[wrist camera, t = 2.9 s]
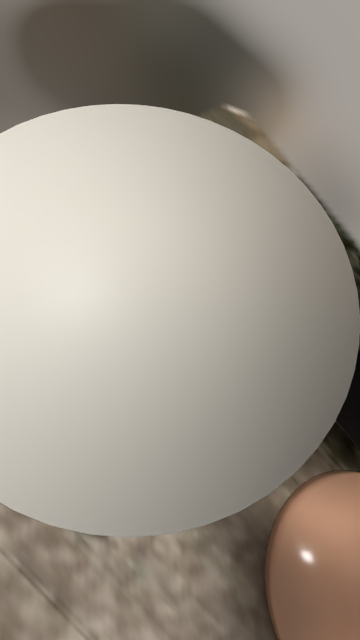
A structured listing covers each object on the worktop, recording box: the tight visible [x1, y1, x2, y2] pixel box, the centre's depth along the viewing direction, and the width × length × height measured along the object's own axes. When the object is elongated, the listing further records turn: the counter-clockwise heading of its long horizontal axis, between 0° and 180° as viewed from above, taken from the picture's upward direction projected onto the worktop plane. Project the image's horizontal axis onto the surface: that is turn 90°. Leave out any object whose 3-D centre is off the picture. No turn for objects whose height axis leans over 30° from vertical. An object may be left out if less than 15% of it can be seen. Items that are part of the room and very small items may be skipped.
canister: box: [0, 104, 360, 537], centre depth 10 cm, size 6×6×12 cm
